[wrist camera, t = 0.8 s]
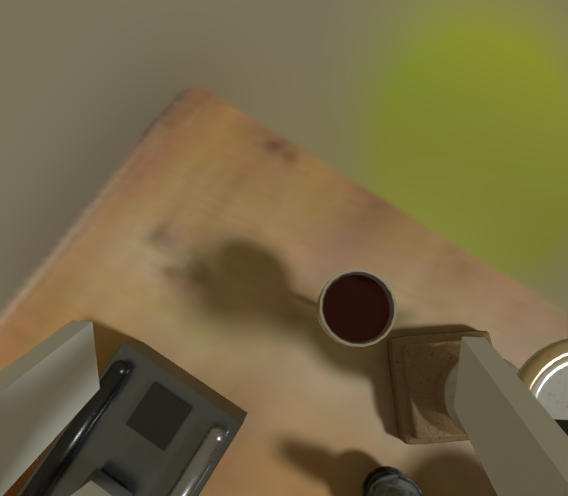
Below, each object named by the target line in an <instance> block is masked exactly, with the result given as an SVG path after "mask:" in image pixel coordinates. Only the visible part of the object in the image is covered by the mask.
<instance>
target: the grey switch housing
mask: <svg viewBox="0 0 568 496" xmlns="http://www.w3.org/2000/svg"><path fill="white" fill-rule="evenodd" d="M99 385H100V389H99V390H98V391H97V392H96V393H95V395H94V396H93V397H92V398H91V399H90V400H89V401H88V402H87V403H86V404H85V406H84V407H83V408H82V409H81V410H80V411H79V412H78V413H77V414H76V415H75V417H74V418H73V419H72V420H71V421H70V422H69V423H68V424H67V425H66V426H65V428H64V429H63V430H62V431H61V432H60V434H59V435H58V437H57V438H56V440H55V441H54V443H53V444H52V445H51V447H50V448H49V450H48V451H47V453H46V454H45V455H44V457H43V458H42V460H41V461H40V463H39V464H38V465H37V467H36V468H35V470H34V471H33V473H32V474H31V476H30V477H29V478H28V480H27V481H26V483H25V484H24V486H23V487H22V488H21V490H20V491H19V493H18V494H17V496H71V495H72V494H73V493H75V492H76V491H77V490H79V489H80V487H81V485H82V484H83V483H84V481H85V480H86V479H87V477H88V476H89V475H90V474H91V473H92V472H93V471H94V470H95V469H96V468H98V469H99V470H100V471H102V472H103V473H105V474H106V475H107V476H109V477H110V478H111V479H113V480H114V481H116V482H117V483H118V484H120V485H121V486H122V487H124V488H125V489H127V490H128V491H129V492H131V493H132V494H133V496H198V495H199V494H200V492H201V491H202V489H203V487H204V486H205V484H206V482H207V481H208V479H209V478H210V476H211V474H212V473H213V471H214V469H215V468H216V466H217V464H218V463H219V461H220V460H221V458H222V456H223V455H224V453H225V451H226V450H227V448H228V447H229V445H230V443H231V442H232V440H233V438H234V437H235V435H236V434H237V432H238V430H239V429H240V427H241V425H242V424H243V422H244V419H245V417H246V415H247V412H245V411H244V410H242V409H241V408H239V407H238V406H236V405H235V404H234V403H232V402H231V401H229V400H228V399H226V398H225V397H223V396H222V395H220V394H219V393H217V392H216V391H214V390H213V389H211V388H210V387H208V386H207V385H205V384H204V383H203V382H201V381H200V380H198V379H197V378H195V377H194V376H192V375H191V374H189V373H188V372H186V371H185V370H183V369H182V368H180V367H179V366H177V365H176V364H175V363H173V362H172V361H170V360H169V359H167V358H166V357H164V356H163V355H161V354H160V353H158V352H157V351H155V350H154V349H152V348H151V347H149V346H148V345H146V344H145V343H144V342H127V343H123V344H122V345H121V346H120V348H119V349H118V351H117V352H116V354H115V355H114V356H113V358H112V359H111V361H110V362H109V364H108V365H107V366H106V368H105V369H104V371H103V372H102V374H101V375H100V377H99Z"/></svg>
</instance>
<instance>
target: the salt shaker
mask: <svg viewBox="0 0 568 496" xmlns="http://www.w3.org/2000/svg"><path fill="white" fill-rule="evenodd" d="M362 496H424V495H423V493H422V491H421V489H420V488H419V486H418V485H417V484H416V483H415V482H414V481H413V480H411V479H410V478H408V477H406V476H405V475H404V474H403V473H402V472H400V471H399V470H397V469H395V468H392V467H380V468H377V469H375V470H374V471H372V472H371V473H370V474H369V475H368V476H367V477H366V479H365V481H364V483H363V488H362Z"/></svg>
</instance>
